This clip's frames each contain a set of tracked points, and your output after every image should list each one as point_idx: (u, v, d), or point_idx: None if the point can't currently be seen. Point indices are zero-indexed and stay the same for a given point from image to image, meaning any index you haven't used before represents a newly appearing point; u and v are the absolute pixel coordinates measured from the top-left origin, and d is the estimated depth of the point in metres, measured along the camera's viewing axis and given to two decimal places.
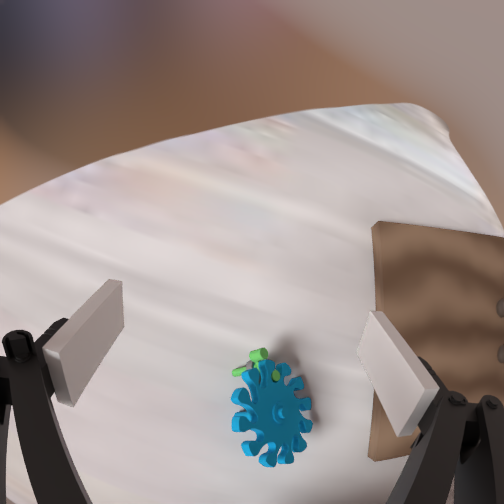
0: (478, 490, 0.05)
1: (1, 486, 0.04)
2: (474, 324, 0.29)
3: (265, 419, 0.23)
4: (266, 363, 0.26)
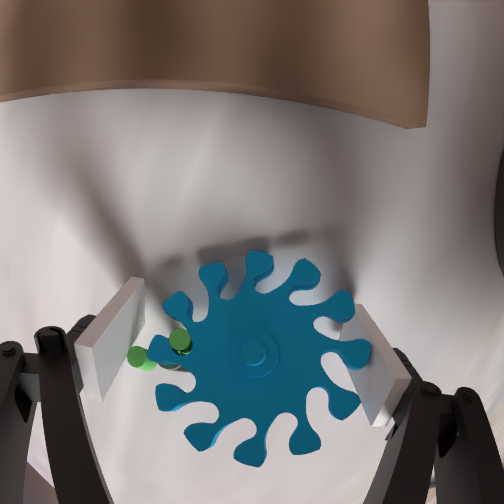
0: (461, 485, 0.06)
1: (19, 484, 0.05)
2: None
3: (256, 399, 0.12)
4: (154, 357, 0.13)
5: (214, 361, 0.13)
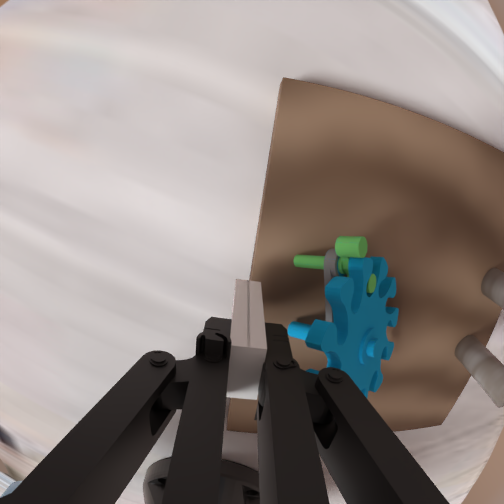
0: (363, 478, 0.07)
1: (118, 491, 0.06)
2: (434, 296, 0.19)
3: (349, 364, 0.14)
4: (364, 266, 0.15)
5: (364, 319, 0.15)
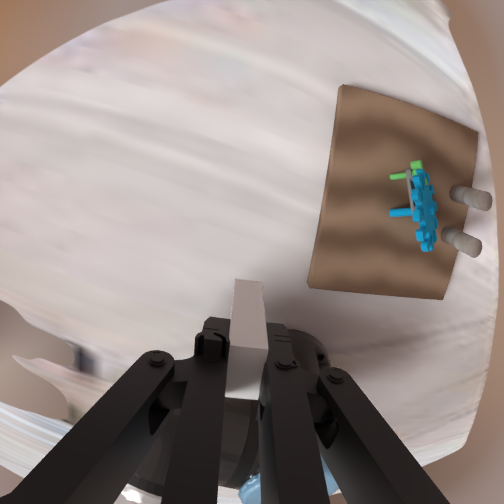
0: (364, 478, 0.07)
1: (117, 491, 0.06)
2: None
3: (425, 213, 0.31)
4: (423, 172, 0.32)
5: (426, 196, 0.32)
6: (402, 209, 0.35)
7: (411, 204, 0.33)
